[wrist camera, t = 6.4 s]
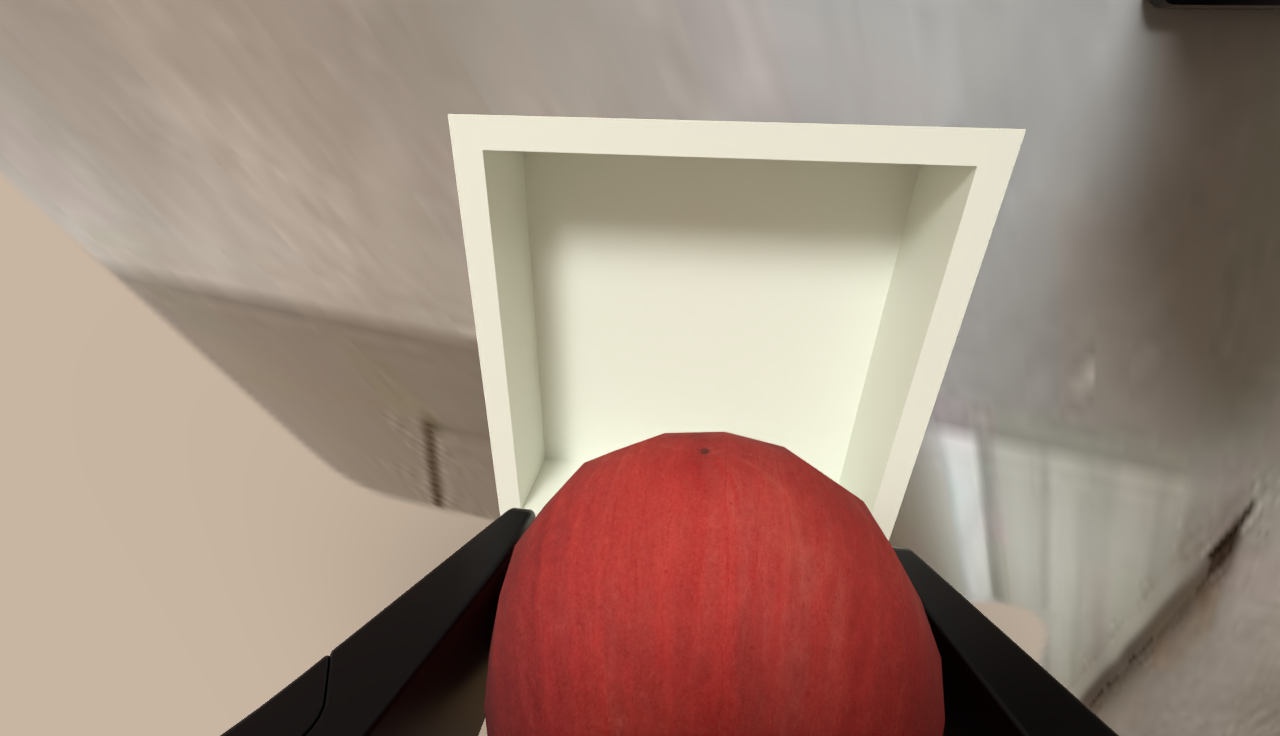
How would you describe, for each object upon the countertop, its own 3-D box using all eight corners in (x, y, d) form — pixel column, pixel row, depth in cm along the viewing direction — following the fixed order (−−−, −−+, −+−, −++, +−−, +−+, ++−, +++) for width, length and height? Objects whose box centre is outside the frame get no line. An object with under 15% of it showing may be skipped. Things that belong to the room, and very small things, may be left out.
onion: (781, 597, 12) (909, 1339, 5) (547, 535, 12) (303, 1187, 4) (896, 392, 9) (1633, 1392, 2) (594, 312, 9) (186, 1021, 2)
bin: (946, 129, 15) (1026, 129, 11) (849, 488, 21) (881, 564, 17) (504, 117, 16) (447, 113, 12) (534, 460, 22) (501, 526, 18)
